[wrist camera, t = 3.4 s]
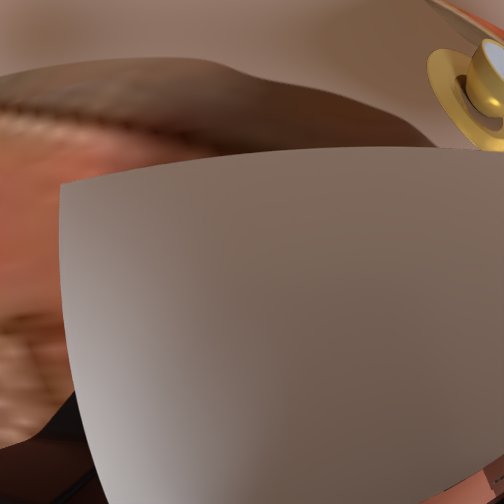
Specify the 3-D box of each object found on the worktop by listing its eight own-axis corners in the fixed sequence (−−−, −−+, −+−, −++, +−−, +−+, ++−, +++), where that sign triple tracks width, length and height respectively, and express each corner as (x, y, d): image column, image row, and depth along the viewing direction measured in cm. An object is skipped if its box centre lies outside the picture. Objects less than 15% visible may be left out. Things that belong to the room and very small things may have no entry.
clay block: (311, 336, 16) (571, 396, 2) (212, 352, 15) (129, 551, 2) (303, 278, 16) (542, 157, 2) (204, 292, 16) (61, 184, 2)
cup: (407, 94, 19) (442, 49, 14) (438, 34, 22) (462, 0, 16) (515, 193, 19) (560, 171, 14) (525, 112, 21) (555, 88, 16)
